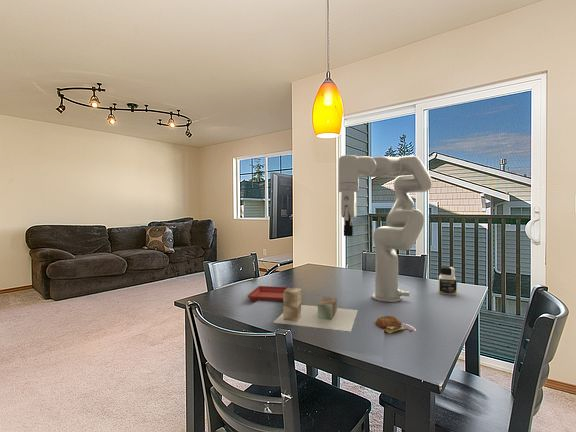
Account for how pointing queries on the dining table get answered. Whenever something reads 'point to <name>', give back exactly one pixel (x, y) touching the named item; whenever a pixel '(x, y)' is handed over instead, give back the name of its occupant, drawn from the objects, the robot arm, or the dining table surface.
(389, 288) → the robot arm
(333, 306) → the walnut block
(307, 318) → the slab
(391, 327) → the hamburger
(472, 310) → the dining table surface
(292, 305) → the maple block
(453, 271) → the medicine bottle
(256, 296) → the red tray
